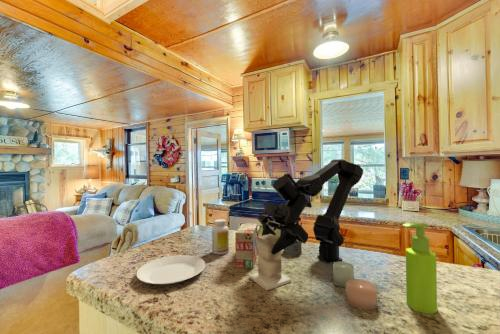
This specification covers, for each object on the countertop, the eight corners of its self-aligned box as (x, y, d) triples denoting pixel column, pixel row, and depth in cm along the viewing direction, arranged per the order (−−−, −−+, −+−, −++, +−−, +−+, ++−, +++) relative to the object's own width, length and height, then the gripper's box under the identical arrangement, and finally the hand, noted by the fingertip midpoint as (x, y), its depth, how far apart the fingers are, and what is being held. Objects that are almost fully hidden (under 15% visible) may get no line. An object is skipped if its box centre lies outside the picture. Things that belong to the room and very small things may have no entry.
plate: (175, 257, 88) (175, 251, 88) (218, 268, 77) (218, 262, 77) (122, 280, 70) (122, 272, 70) (167, 299, 59) (167, 290, 59)
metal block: (271, 271, 72) (270, 233, 72) (281, 277, 68) (280, 237, 68) (258, 275, 70) (257, 236, 70) (268, 282, 65) (267, 240, 65)
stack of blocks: (246, 246, 98) (245, 218, 98) (260, 247, 97) (260, 218, 98) (235, 268, 77) (235, 231, 77) (253, 269, 76) (253, 232, 76)
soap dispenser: (396, 300, 57) (395, 220, 58) (422, 298, 58) (421, 219, 58) (415, 315, 52) (414, 226, 52) (443, 313, 52) (442, 225, 52)
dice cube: (301, 253, 90) (301, 240, 90) (290, 255, 88) (290, 242, 88) (294, 249, 94) (294, 237, 94) (283, 251, 92) (283, 239, 92)
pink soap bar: (360, 291, 62) (359, 277, 62) (383, 306, 55) (383, 289, 55) (340, 297, 59) (339, 282, 59) (362, 313, 53) (362, 295, 53)
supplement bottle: (232, 251, 93) (231, 219, 93) (221, 256, 87) (221, 223, 87) (219, 248, 96) (219, 217, 96) (208, 253, 91) (208, 221, 91)
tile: (272, 270, 75) (272, 267, 75) (291, 281, 67) (291, 278, 67) (249, 277, 70) (249, 274, 70) (266, 290, 63) (266, 287, 63)
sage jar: (343, 276, 70) (343, 260, 70) (358, 285, 65) (358, 267, 65) (329, 280, 68) (328, 263, 68) (343, 289, 63) (343, 271, 63)
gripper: (261, 190, 79) (234, 227, 73) (300, 196, 63) (269, 243, 57) (279, 211, 83) (254, 247, 77) (320, 220, 67) (292, 267, 61)
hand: (265, 250), depth 68 cm, fingers open, 6 cm apart
